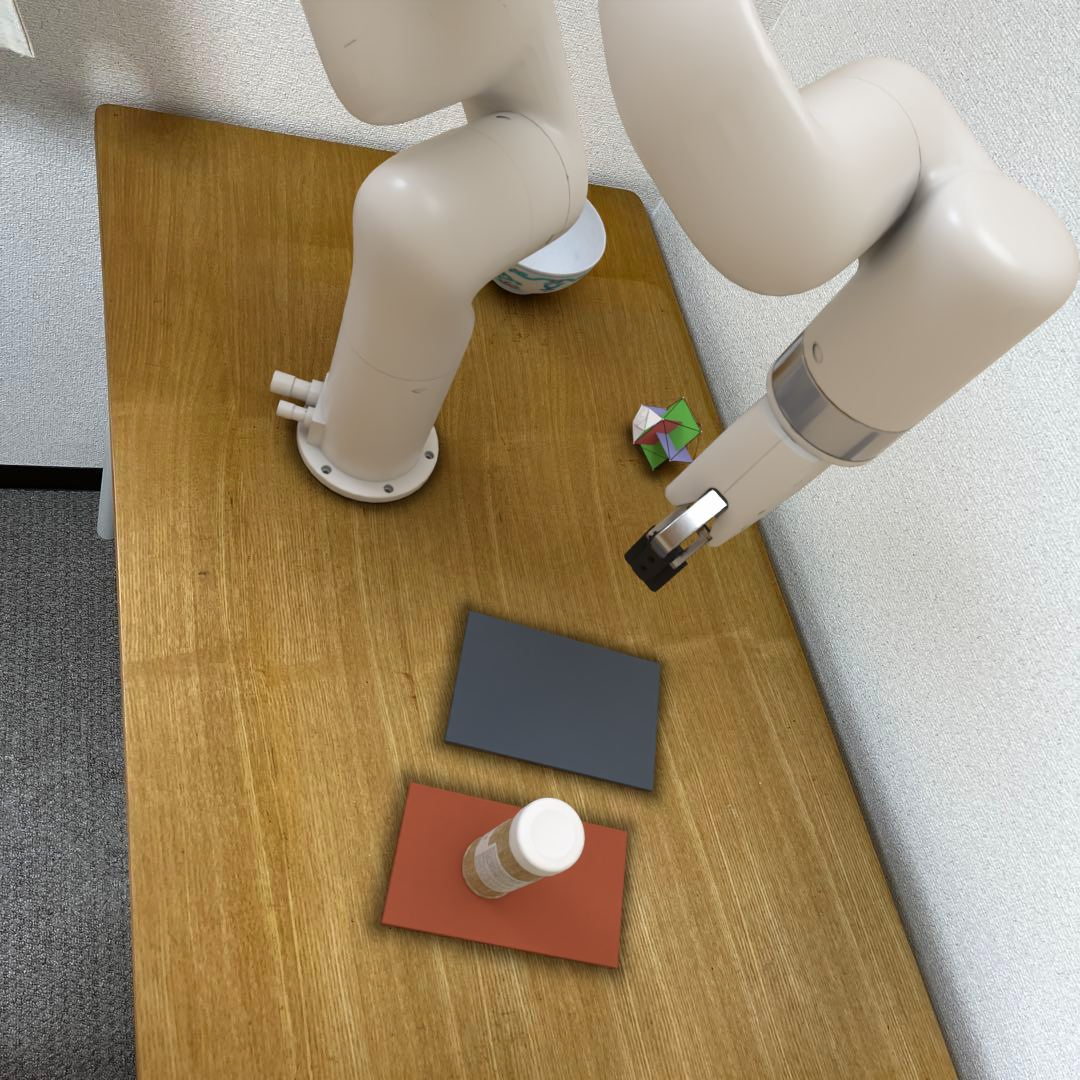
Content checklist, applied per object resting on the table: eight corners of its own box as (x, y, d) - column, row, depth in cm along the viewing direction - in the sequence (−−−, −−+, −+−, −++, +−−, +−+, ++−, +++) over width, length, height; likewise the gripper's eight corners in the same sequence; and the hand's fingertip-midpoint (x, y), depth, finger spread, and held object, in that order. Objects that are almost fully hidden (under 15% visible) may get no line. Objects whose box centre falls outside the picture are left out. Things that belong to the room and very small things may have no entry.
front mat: (380, 924, 63) (382, 923, 62) (409, 783, 68) (411, 781, 68) (614, 968, 67) (617, 967, 67) (624, 833, 72) (627, 831, 72)
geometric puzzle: (689, 405, 95) (682, 373, 87) (718, 460, 92) (713, 431, 85) (627, 436, 96) (615, 406, 88) (654, 490, 93) (644, 465, 86)
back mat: (443, 742, 71) (445, 740, 70) (468, 613, 77) (470, 610, 76) (650, 792, 75) (653, 790, 74) (657, 666, 81) (660, 663, 80)
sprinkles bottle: (503, 826, 69) (568, 785, 58) (527, 885, 67) (599, 853, 56) (449, 850, 66) (506, 812, 55) (474, 911, 65) (537, 884, 54)
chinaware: (422, 235, 96) (440, 177, 90) (529, 208, 104) (552, 154, 97) (499, 340, 93) (523, 289, 86) (603, 305, 101) (632, 255, 94)
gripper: (874, 291, 53) (723, 447, 67) (697, 401, 43) (565, 556, 57) (962, 385, 52) (790, 524, 66) (801, 519, 42) (640, 648, 56)
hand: (685, 539), depth 62 cm, fingers open, 9 cm apart
